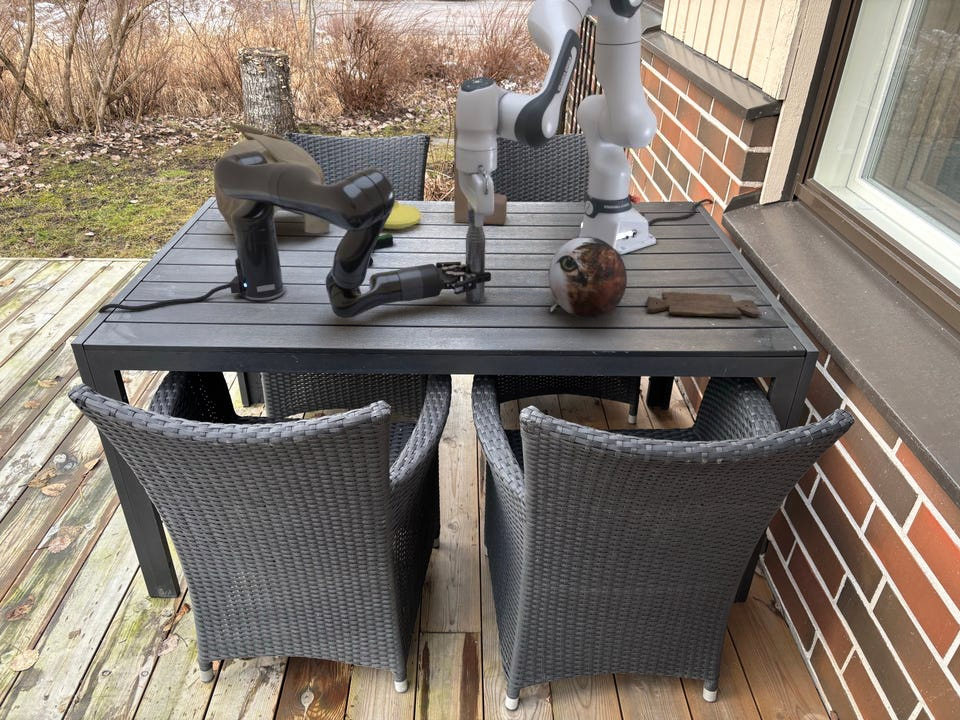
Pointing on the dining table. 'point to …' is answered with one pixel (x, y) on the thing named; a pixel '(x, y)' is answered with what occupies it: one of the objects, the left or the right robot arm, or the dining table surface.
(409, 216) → the yellow domed disc
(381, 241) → the handgun
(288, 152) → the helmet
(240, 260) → the left robot arm
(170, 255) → the dining table surface
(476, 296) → the bottle
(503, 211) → the decorative block
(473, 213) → the cap
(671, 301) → the dark wooden board
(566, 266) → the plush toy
